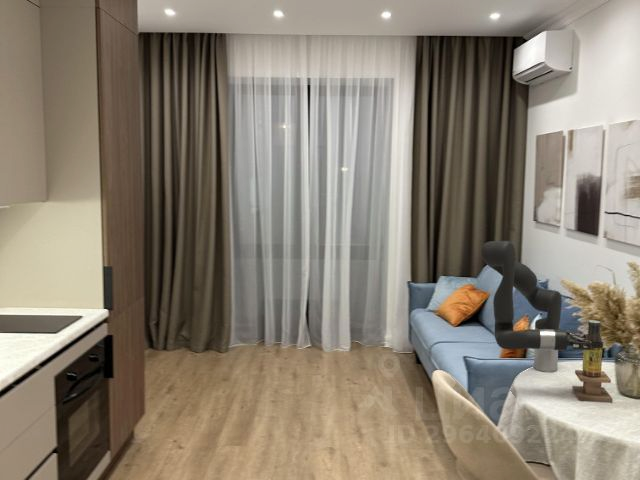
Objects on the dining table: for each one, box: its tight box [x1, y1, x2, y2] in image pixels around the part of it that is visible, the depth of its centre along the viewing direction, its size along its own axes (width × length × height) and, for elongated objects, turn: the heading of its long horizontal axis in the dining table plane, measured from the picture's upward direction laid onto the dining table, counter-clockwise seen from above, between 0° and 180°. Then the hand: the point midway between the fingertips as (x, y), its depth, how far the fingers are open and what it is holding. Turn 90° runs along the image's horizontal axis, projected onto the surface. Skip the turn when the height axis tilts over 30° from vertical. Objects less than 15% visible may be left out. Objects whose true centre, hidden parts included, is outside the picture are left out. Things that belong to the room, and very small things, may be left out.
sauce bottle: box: [581, 319, 603, 377], centre depth 216 cm, size 6×6×20 cm
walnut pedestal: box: [571, 369, 613, 404], centre depth 218 cm, size 11×11×8 cm
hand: (599, 341), depth 216 cm, fingers open, 8 cm apart
